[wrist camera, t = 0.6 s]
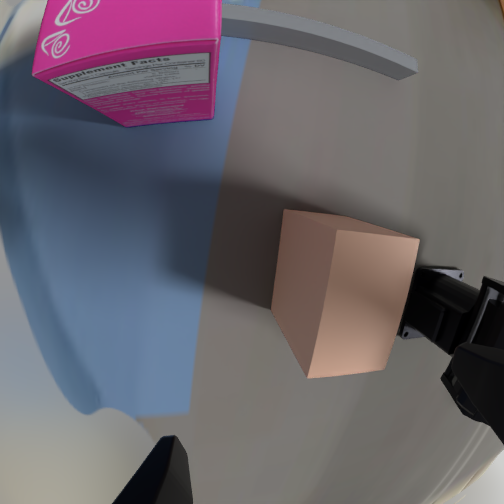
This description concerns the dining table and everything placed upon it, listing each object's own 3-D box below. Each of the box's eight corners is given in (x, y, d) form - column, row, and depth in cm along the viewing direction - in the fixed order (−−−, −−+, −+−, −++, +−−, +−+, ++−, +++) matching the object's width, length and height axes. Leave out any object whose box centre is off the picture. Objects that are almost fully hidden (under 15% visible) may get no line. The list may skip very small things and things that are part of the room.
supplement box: (125, 51, 15) (63, -53, 4) (214, 42, 16) (232, -80, 5) (121, 130, 16) (24, 76, 5) (215, 122, 17) (234, 39, 6)
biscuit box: (347, 216, 20) (421, 239, 12) (330, 310, 21) (386, 369, 14) (283, 208, 19) (336, 229, 11) (270, 309, 21) (307, 378, 13)
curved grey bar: (398, 65, 18) (416, 57, 15) (398, 80, 18) (417, 72, 15) (132, 18, 14) (125, 0, 12) (127, 33, 14) (119, 17, 12)
